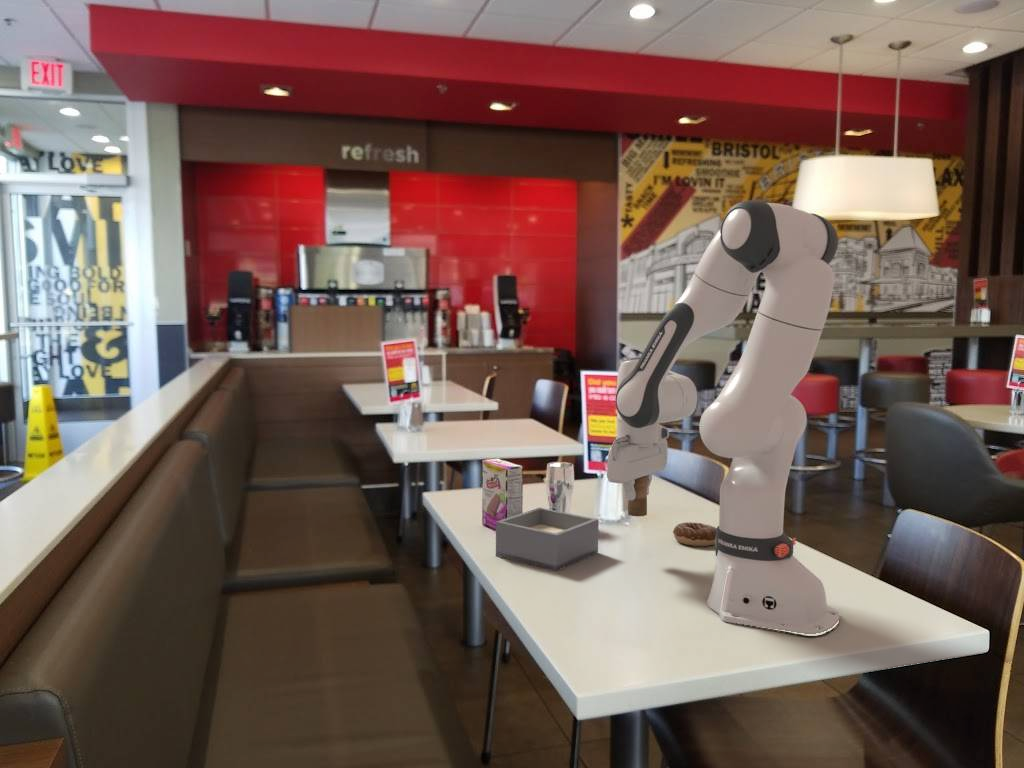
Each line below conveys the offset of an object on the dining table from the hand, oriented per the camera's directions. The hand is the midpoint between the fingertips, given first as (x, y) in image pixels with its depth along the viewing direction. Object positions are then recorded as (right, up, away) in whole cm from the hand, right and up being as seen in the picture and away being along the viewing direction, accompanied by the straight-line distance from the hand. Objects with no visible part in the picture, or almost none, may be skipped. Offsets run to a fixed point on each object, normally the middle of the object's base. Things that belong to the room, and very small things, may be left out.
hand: (637, 497), depth 171 cm
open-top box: (-19, -13, +4) cm, 23 cm away
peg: (0, -4, 0) cm, 4 cm away
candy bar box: (-29, -11, +23) cm, 39 cm away
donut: (+16, -13, +15) cm, 25 cm away
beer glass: (-15, -11, +28) cm, 34 cm away
